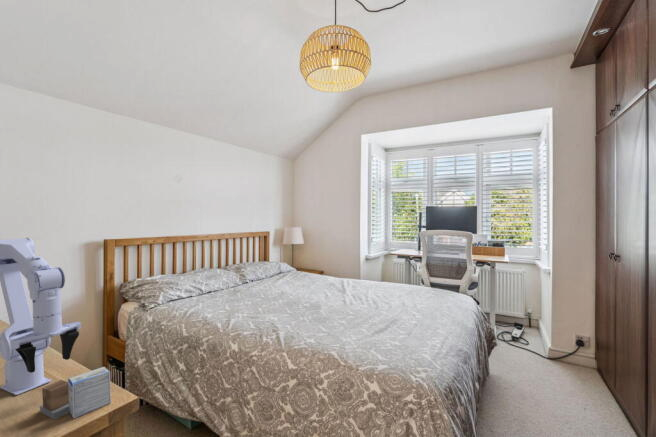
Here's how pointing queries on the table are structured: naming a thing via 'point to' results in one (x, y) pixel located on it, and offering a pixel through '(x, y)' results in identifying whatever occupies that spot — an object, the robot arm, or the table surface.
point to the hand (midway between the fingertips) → (49, 364)
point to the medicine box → (89, 391)
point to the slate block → (55, 411)
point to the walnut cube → (55, 395)
